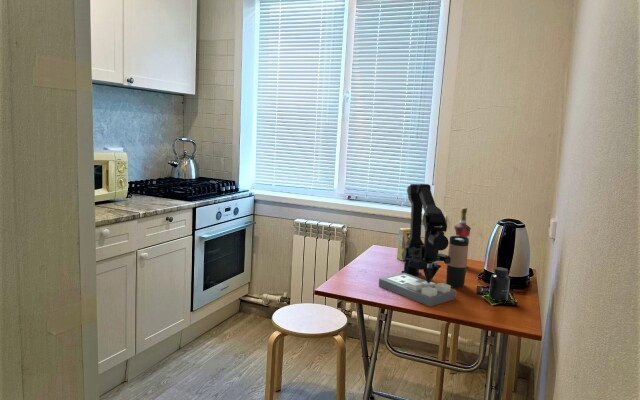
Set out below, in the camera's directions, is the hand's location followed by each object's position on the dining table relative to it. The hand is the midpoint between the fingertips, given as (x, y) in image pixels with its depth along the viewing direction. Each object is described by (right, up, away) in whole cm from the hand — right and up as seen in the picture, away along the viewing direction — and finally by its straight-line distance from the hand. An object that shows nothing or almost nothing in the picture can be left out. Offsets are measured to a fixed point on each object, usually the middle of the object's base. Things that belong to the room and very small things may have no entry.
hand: (428, 282), depth 183 cm
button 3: (-2, -4, -10) cm, 11 cm away
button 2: (0, -3, +1) cm, 3 cm away
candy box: (0, +3, +47) cm, 47 cm away
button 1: (-6, -3, -5) cm, 8 cm away
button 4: (+4, -3, -5) cm, 7 cm away
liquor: (+23, +1, +38) cm, 45 cm away
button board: (-5, -4, 0) cm, 6 cm away
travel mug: (+13, -3, +11) cm, 18 cm away
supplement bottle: (+26, -6, -3) cm, 27 cm away
